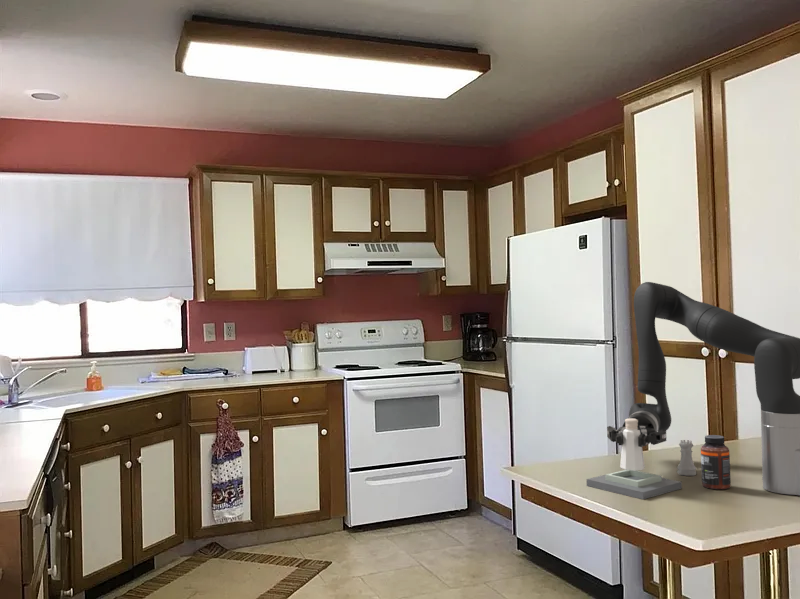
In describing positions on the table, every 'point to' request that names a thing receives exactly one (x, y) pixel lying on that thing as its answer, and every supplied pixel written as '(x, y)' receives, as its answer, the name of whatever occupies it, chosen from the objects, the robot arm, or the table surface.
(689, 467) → the rook chess piece
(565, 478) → the table surface
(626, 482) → the baseplate
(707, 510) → the table surface
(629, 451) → the pepper shaker
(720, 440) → the supplement bottle
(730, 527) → the table surface
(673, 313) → the robot arm
